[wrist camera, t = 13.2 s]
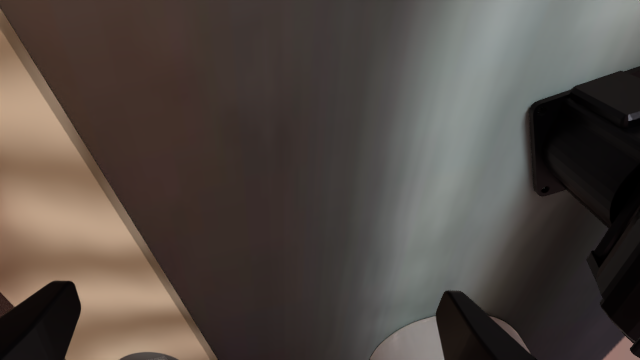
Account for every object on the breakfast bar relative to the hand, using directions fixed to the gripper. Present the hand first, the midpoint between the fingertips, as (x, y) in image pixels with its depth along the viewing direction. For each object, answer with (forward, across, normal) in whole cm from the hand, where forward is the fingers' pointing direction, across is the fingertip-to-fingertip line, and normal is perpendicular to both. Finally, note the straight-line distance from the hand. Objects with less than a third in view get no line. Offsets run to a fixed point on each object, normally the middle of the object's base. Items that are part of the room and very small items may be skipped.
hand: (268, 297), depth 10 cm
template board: (+13, +13, +12) cm, 22 cm away
